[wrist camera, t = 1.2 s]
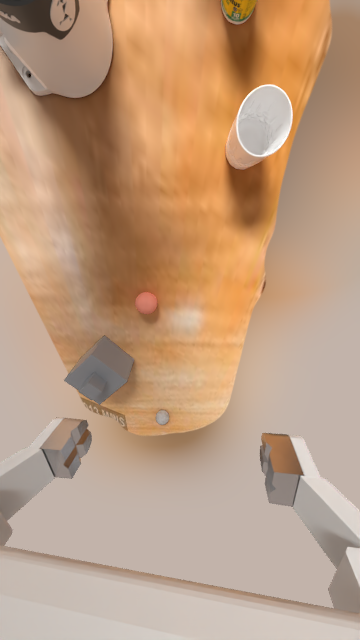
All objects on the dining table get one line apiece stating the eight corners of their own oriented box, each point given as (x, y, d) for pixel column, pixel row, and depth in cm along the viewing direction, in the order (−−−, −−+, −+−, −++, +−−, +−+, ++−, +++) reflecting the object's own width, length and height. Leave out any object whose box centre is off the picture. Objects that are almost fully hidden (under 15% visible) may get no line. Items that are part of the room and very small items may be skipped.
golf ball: (155, 416, 65) (154, 427, 61) (156, 406, 63) (155, 417, 60) (168, 417, 65) (168, 428, 61) (170, 407, 64) (169, 418, 60)
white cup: (240, 183, 41) (259, 170, 32) (212, 149, 38) (224, 124, 29) (273, 147, 38) (303, 121, 29) (245, 108, 36) (269, 67, 27)
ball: (132, 299, 50) (128, 306, 45) (147, 285, 48) (144, 290, 44) (148, 313, 51) (145, 321, 46) (162, 300, 50) (161, 307, 45)
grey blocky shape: (80, 358, 56) (55, 391, 45) (104, 335, 53) (85, 363, 42) (110, 380, 59) (94, 416, 48) (134, 359, 56) (124, 392, 45)
